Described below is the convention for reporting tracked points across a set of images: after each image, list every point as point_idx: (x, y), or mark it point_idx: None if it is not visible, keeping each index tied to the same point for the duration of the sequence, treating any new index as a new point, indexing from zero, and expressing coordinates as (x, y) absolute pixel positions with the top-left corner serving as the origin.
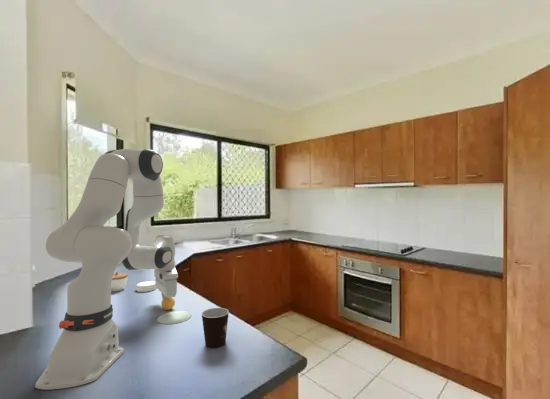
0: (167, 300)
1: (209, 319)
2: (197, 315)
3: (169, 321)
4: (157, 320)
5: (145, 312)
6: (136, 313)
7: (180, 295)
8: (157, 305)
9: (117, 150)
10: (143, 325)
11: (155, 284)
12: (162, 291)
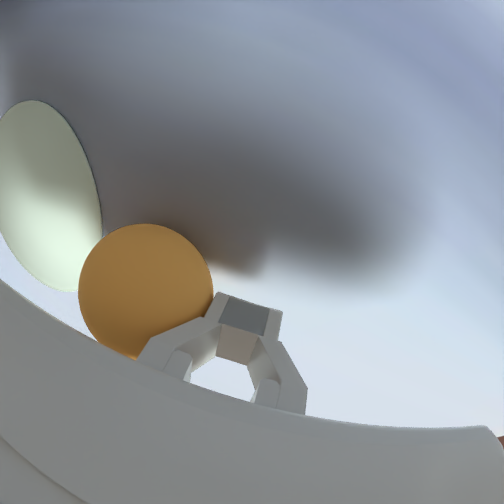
0: (79, 288)
1: None
2: (25, 282)
3: (2, 154)
4: (33, 101)
5: (269, 74)
6: (322, 7)
7: (370, 424)
8: (364, 268)
9: None
10: (41, 18)
11: (498, 453)
12: (102, 382)
